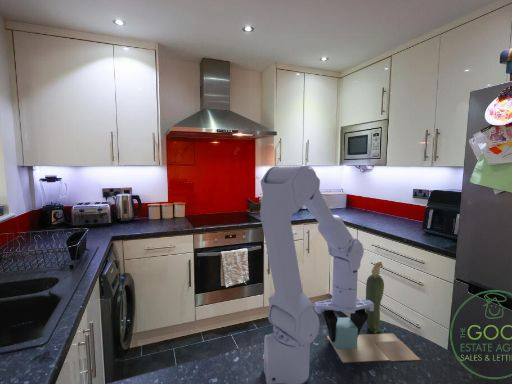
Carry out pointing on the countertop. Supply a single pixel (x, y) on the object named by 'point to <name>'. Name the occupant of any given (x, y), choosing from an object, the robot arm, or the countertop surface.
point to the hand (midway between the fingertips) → (342, 339)
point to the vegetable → (374, 297)
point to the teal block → (346, 334)
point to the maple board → (376, 349)
